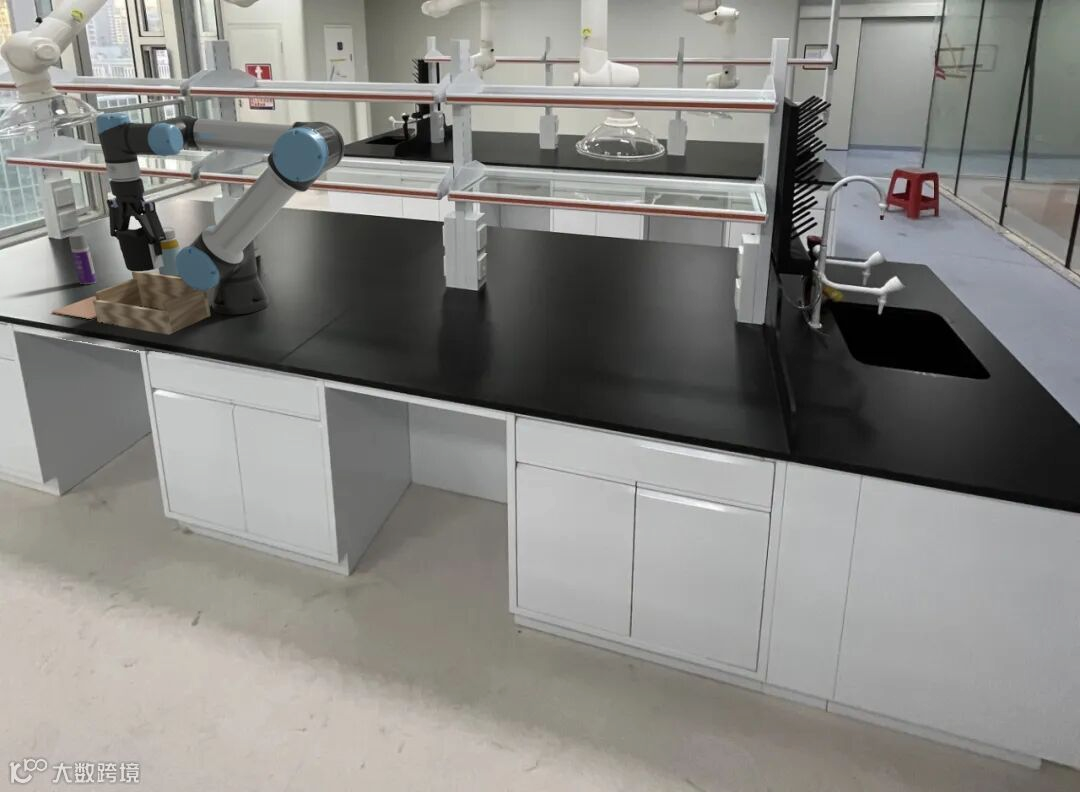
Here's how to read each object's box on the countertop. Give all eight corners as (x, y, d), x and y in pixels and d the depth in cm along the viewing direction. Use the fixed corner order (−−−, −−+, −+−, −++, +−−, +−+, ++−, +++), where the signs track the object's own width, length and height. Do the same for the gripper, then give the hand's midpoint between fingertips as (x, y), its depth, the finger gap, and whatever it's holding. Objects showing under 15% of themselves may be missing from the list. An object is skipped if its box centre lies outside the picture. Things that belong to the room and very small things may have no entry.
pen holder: (150, 273, 208) (142, 235, 204) (117, 271, 209) (108, 233, 205) (171, 262, 216) (163, 226, 212) (139, 261, 218) (131, 224, 213)
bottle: (173, 281, 249) (164, 233, 242) (155, 278, 251) (145, 231, 244) (189, 274, 255) (180, 228, 248) (171, 272, 257) (162, 226, 250)
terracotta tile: (131, 304, 230) (130, 302, 229) (90, 320, 218) (89, 318, 217) (94, 298, 234) (93, 296, 234) (52, 313, 222) (51, 311, 222)
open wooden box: (210, 315, 222) (204, 280, 217) (168, 334, 209) (161, 297, 204) (142, 304, 230) (134, 270, 225) (97, 322, 217) (89, 286, 212)
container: (78, 285, 244) (66, 236, 238) (81, 281, 248) (69, 233, 242) (95, 284, 245) (83, 235, 239) (98, 279, 250) (87, 232, 243)
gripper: (80, 178, 203) (101, 264, 213) (147, 184, 196) (166, 273, 206) (104, 173, 209) (124, 257, 219) (170, 178, 202) (187, 265, 212)
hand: (144, 265), depth 213 cm, fingers closed on pen holder, 9 cm apart
